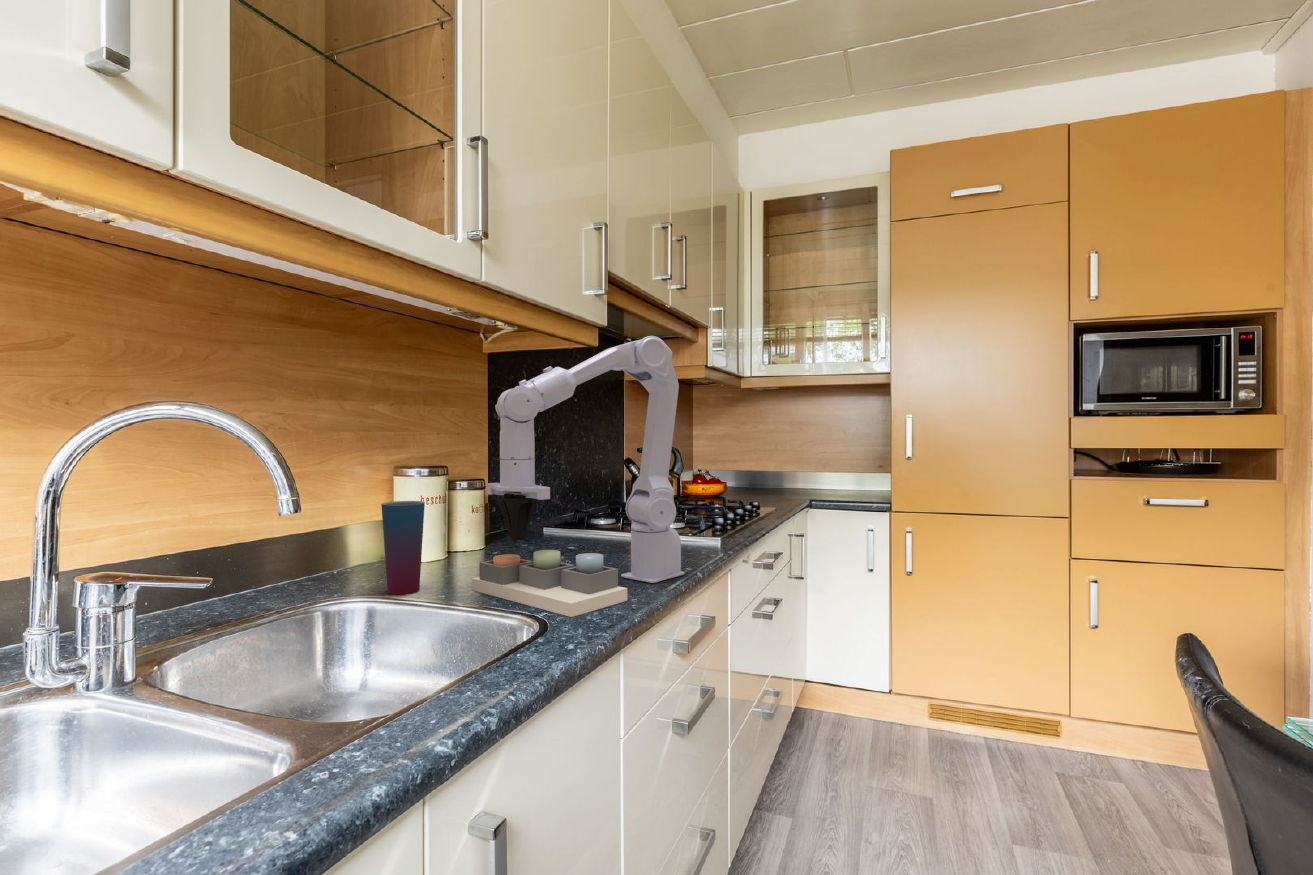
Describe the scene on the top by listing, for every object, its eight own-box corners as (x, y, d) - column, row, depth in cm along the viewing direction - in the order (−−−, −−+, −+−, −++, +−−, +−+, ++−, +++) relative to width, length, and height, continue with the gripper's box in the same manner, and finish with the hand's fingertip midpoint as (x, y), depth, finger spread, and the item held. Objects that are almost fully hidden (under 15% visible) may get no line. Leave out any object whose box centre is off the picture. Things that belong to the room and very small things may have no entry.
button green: (548, 562, 109) (548, 548, 109) (566, 566, 106) (566, 551, 106) (527, 567, 106) (527, 552, 106) (545, 570, 103) (545, 555, 103)
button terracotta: (509, 567, 112) (509, 553, 112) (525, 570, 109) (525, 556, 109) (488, 571, 109) (488, 557, 109) (503, 574, 106) (503, 560, 106)
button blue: (590, 566, 106) (589, 552, 106) (609, 570, 103) (609, 555, 103) (570, 570, 103) (570, 555, 103) (589, 574, 100) (589, 559, 100)
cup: (415, 596, 105) (415, 505, 105) (374, 596, 105) (374, 505, 105) (431, 586, 112) (430, 500, 112) (392, 586, 112) (392, 500, 112)
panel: (527, 577, 119) (527, 551, 119) (627, 600, 103) (627, 570, 103) (471, 589, 110) (471, 561, 110) (571, 617, 93) (571, 583, 93)
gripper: (472, 458, 110) (472, 538, 110) (525, 461, 100) (525, 547, 100) (506, 457, 115) (506, 533, 115) (559, 459, 106) (560, 541, 106)
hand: (517, 539), depth 108 cm, fingers closed
